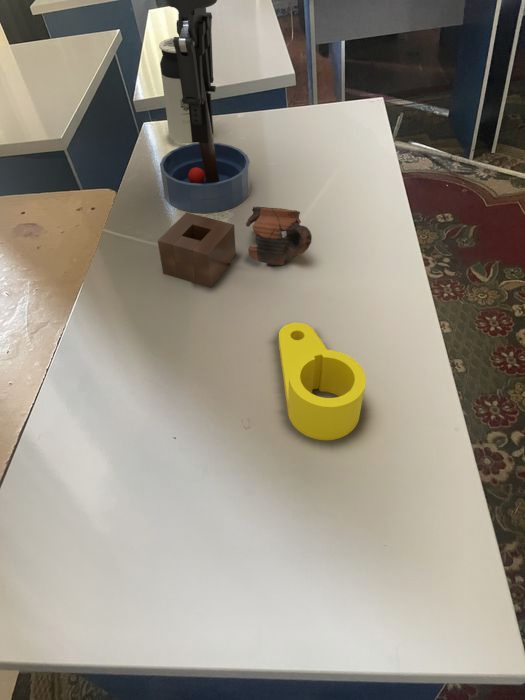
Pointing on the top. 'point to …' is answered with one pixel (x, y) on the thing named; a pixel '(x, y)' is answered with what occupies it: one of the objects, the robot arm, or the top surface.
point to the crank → (319, 384)
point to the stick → (209, 153)
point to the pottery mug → (277, 235)
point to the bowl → (204, 195)
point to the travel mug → (174, 95)
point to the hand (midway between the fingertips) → (202, 137)
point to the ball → (196, 175)
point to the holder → (197, 249)
